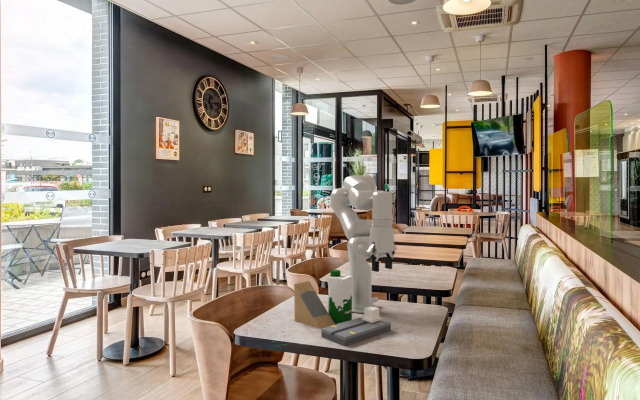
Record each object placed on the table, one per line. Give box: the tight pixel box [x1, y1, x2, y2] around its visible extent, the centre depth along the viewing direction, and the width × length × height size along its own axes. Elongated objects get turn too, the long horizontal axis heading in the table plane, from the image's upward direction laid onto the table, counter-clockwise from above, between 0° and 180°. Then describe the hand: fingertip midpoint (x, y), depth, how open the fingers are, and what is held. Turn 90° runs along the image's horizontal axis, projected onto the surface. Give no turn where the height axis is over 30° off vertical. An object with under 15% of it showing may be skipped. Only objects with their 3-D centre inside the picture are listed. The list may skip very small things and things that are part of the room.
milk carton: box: [326, 269, 353, 324], centre depth 182 cm, size 9×9×20 cm
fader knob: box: [361, 306, 382, 323], centre depth 172 cm, size 5×5×6 cm
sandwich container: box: [293, 280, 336, 330], centre depth 180 cm, size 9×15×15 cm, turn 44°
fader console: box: [320, 315, 392, 347], centre depth 167 cm, size 24×12×3 cm, turn 131°
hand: (382, 269), depth 175 cm, fingers open, 6 cm apart
